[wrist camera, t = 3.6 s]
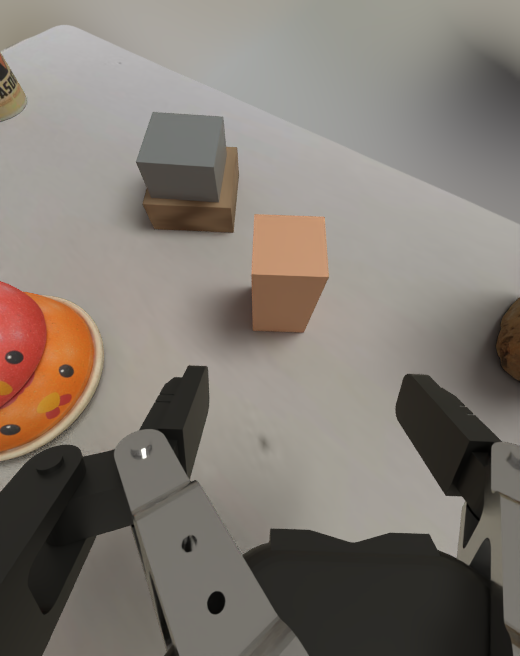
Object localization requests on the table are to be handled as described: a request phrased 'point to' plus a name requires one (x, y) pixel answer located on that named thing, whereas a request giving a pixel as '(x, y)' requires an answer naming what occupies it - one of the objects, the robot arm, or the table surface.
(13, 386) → the stacking toy
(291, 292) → the pillar
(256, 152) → the table surface
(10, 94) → the coffee cup
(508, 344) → the block
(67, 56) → the table surface
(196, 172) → the tower top
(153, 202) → the tower base
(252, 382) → the table surface
